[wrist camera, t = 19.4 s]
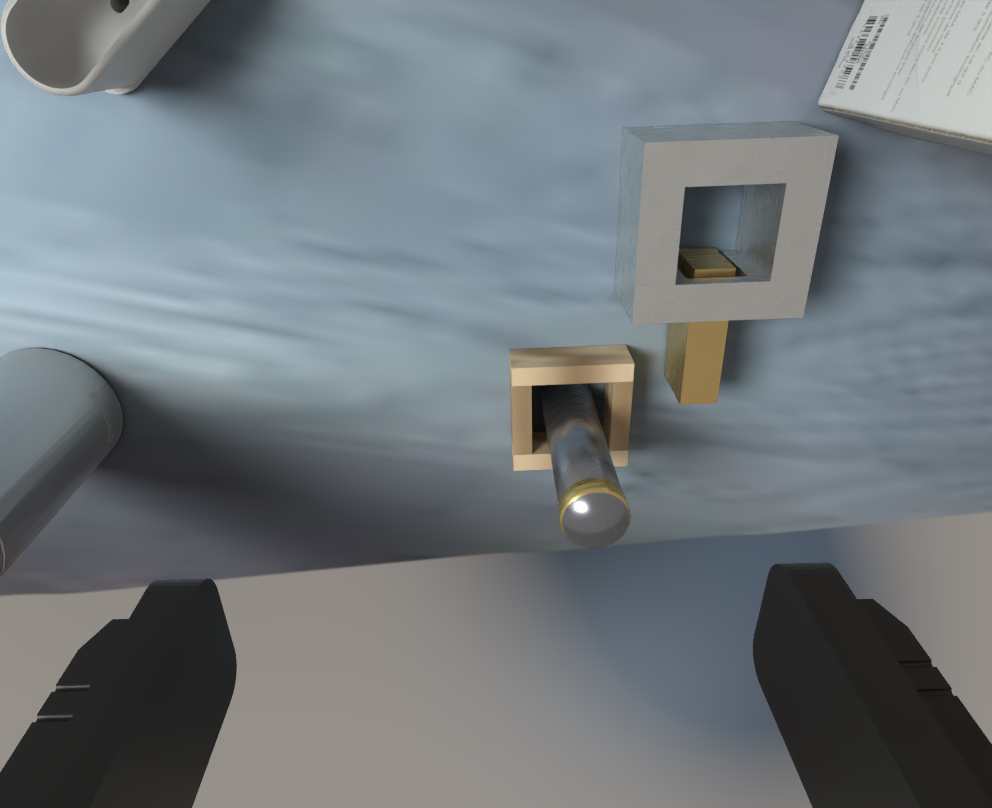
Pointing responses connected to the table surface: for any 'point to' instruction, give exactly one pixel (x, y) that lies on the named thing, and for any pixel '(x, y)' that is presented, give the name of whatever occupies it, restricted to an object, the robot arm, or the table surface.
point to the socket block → (762, 227)
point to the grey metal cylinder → (583, 468)
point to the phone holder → (92, 41)
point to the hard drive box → (918, 71)
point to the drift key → (697, 336)
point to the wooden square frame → (570, 368)
